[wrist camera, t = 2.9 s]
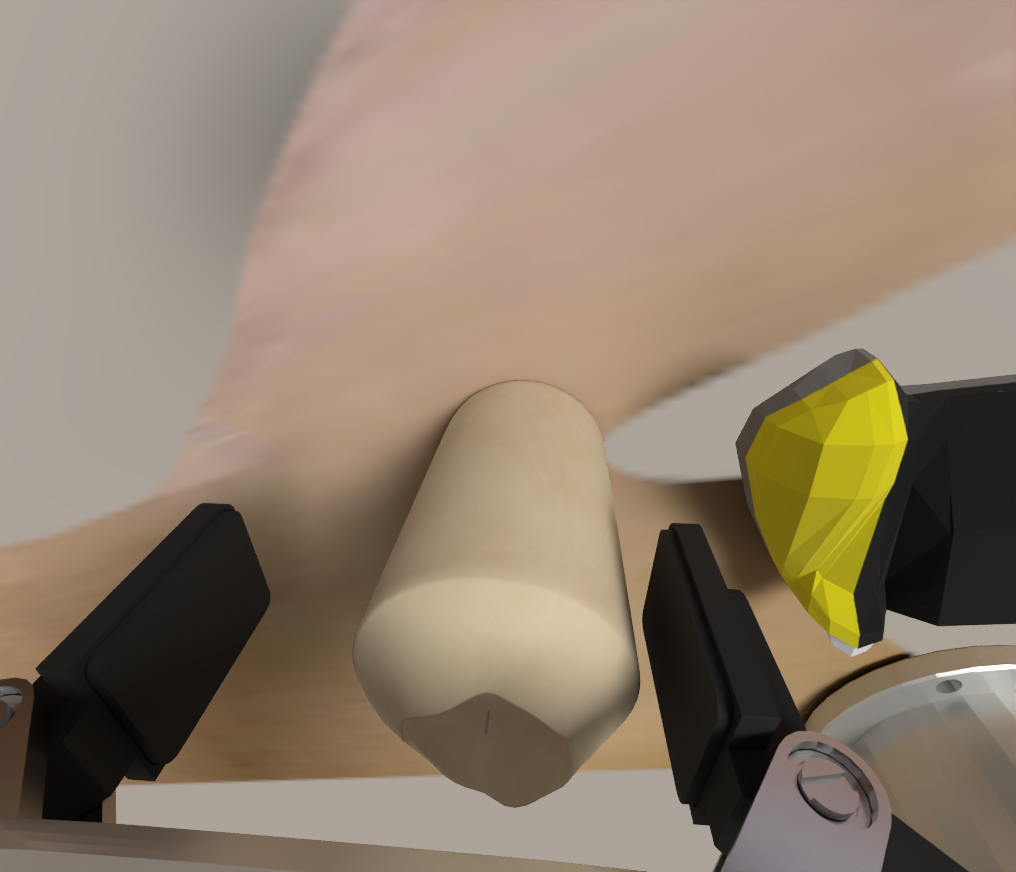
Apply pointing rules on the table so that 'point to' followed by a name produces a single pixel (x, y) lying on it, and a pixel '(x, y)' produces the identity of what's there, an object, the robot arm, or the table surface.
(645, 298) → the table surface
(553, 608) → the candle
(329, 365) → the table surface
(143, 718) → the robot arm
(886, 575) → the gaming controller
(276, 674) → the table surface
